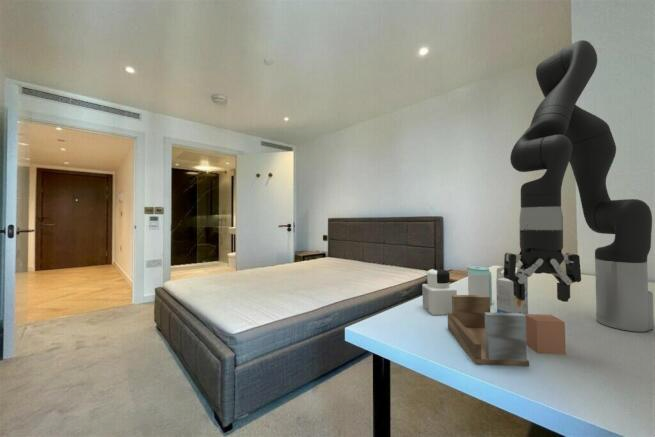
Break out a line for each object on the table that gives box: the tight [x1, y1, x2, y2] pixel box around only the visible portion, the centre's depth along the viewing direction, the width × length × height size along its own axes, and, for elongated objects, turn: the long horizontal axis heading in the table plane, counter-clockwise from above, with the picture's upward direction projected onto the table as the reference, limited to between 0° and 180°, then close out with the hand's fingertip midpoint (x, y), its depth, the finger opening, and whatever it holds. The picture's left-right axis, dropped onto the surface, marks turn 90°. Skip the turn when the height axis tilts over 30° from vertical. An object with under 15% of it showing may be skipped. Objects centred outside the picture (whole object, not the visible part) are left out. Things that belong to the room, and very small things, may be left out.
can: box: [467, 265, 493, 304], centre depth 89 cm, size 7×7×12 cm
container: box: [421, 268, 458, 316], centre depth 83 cm, size 8×8×13 cm
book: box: [525, 313, 567, 355], centre depth 58 cm, size 6×4×7 cm
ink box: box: [495, 265, 529, 315], centre depth 75 cm, size 8×5×15 cm, turn 123°
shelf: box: [447, 294, 530, 367], centre depth 60 cm, size 10×17×10 cm, turn 172°
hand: (541, 300), depth 58 cm, fingers open, 8 cm apart
